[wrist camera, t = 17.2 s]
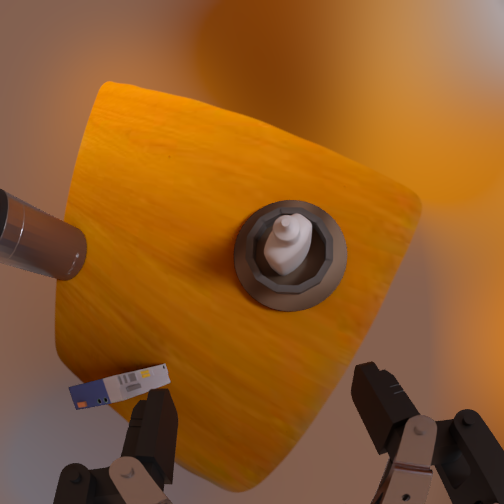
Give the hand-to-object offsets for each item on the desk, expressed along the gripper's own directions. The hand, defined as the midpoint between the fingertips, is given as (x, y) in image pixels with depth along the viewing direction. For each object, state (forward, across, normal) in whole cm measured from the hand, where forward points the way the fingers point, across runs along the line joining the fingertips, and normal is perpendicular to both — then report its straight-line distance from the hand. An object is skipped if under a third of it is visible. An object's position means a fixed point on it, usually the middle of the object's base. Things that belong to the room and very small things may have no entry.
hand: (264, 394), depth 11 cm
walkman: (+21, +15, +18) cm, 31 cm away
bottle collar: (+26, -6, +3) cm, 27 cm away
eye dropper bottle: (+25, -6, +3) cm, 26 cm away
